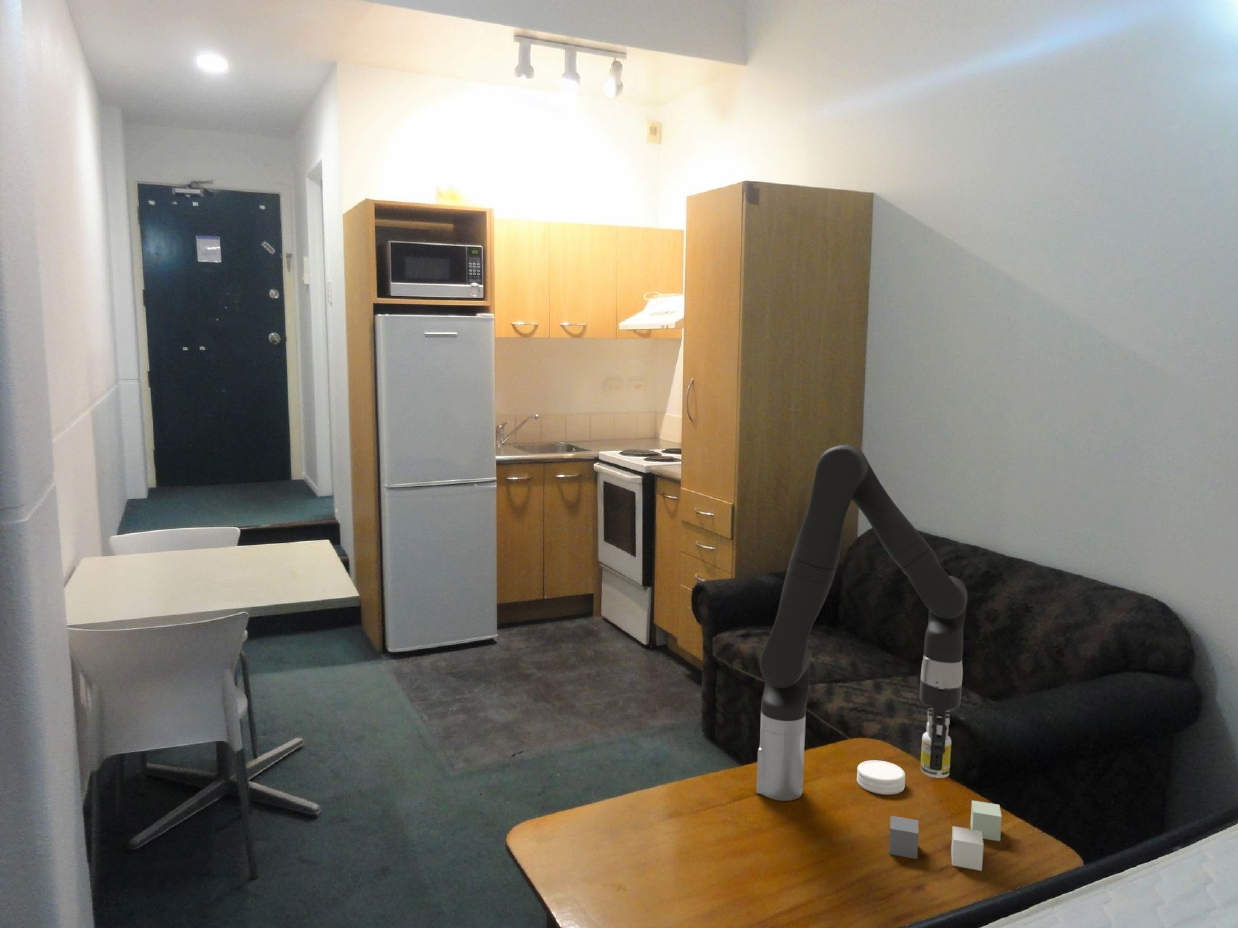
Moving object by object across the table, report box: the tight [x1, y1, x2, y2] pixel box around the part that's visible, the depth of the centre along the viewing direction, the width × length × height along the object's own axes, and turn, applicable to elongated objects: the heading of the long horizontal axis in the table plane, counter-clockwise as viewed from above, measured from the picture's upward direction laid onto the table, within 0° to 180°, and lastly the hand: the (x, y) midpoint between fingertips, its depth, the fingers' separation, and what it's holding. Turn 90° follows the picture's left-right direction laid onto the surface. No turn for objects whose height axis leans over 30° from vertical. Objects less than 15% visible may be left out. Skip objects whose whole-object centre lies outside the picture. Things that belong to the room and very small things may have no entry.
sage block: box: [969, 800, 1003, 842], centre depth 170 cm, size 5×5×5 cm
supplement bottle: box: [920, 721, 952, 779], centre depth 171 cm, size 5×5×10 cm
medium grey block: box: [888, 815, 920, 860], centre depth 163 cm, size 5×5×5 cm
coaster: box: [856, 759, 906, 796], centre depth 189 cm, size 10×10×4 cm
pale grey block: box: [950, 825, 984, 871], centre depth 160 cm, size 5×5×5 cm
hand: (935, 762), depth 172 cm, fingers closed on supplement bottle, 5 cm apart
